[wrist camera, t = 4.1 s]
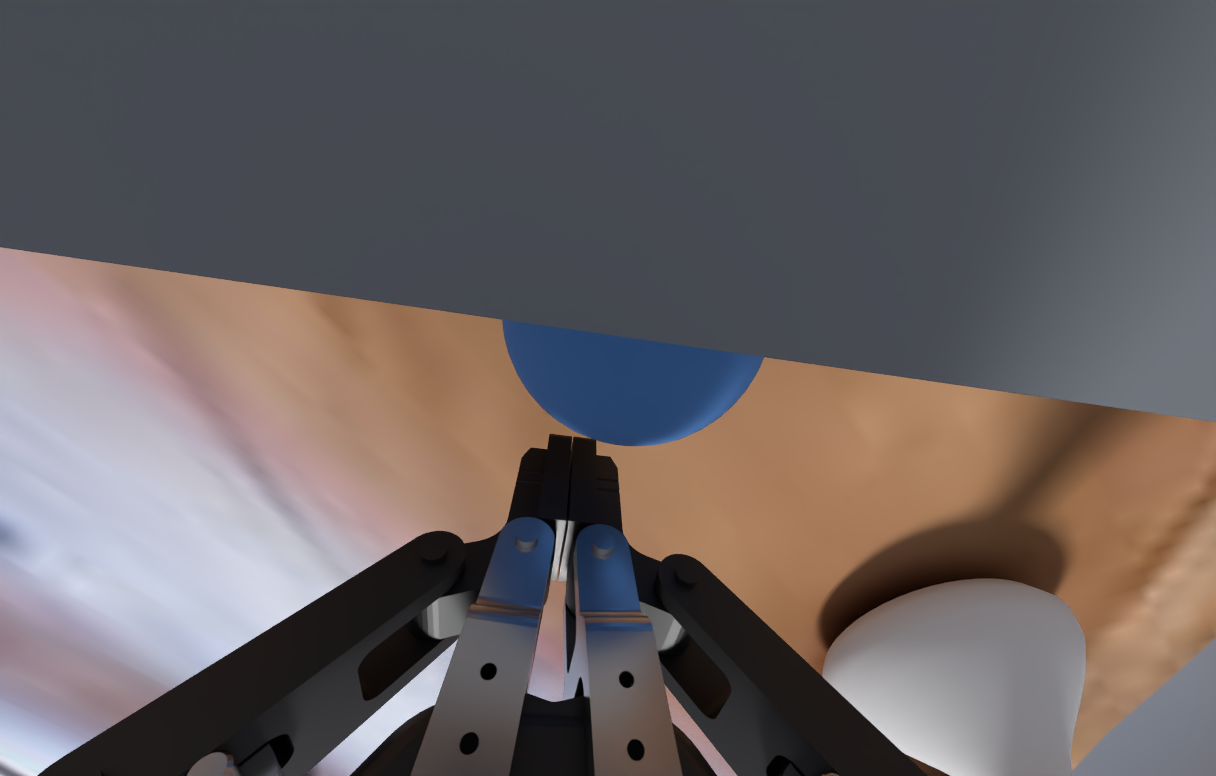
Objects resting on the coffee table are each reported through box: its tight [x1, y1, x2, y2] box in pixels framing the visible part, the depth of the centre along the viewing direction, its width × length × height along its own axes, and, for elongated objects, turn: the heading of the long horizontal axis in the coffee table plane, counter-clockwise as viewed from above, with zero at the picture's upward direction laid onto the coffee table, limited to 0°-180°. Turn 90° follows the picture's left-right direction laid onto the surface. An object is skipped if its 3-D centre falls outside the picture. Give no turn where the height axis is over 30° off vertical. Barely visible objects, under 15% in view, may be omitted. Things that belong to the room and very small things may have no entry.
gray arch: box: [0, 0, 1216, 422], centre depth 6 cm, size 3×15×10 cm, turn 80°
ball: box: [502, 319, 764, 446], centre depth 10 cm, size 6×6×6 cm
